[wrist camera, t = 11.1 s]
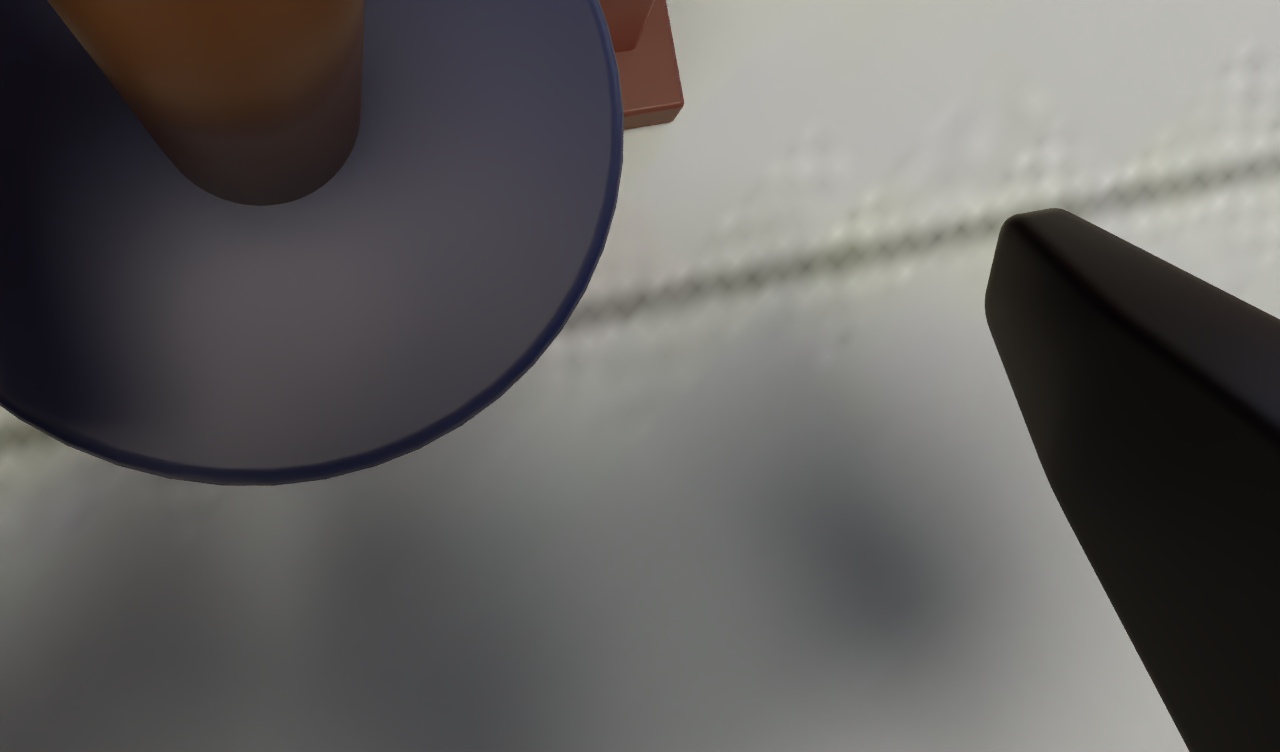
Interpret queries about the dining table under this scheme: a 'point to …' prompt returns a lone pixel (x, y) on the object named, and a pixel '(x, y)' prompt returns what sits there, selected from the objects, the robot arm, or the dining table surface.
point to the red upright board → (644, 60)
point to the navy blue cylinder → (292, 221)
